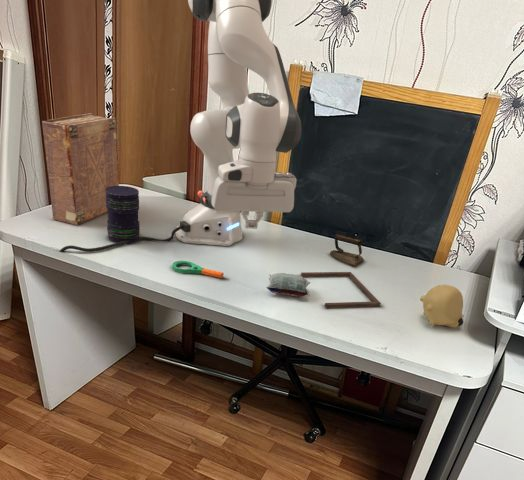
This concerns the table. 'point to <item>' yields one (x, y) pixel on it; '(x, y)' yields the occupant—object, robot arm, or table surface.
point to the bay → (355, 280)
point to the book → (80, 165)
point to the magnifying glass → (195, 269)
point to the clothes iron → (345, 256)
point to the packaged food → (288, 284)
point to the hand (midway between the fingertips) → (250, 228)
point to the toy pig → (443, 306)
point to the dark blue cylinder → (122, 214)
